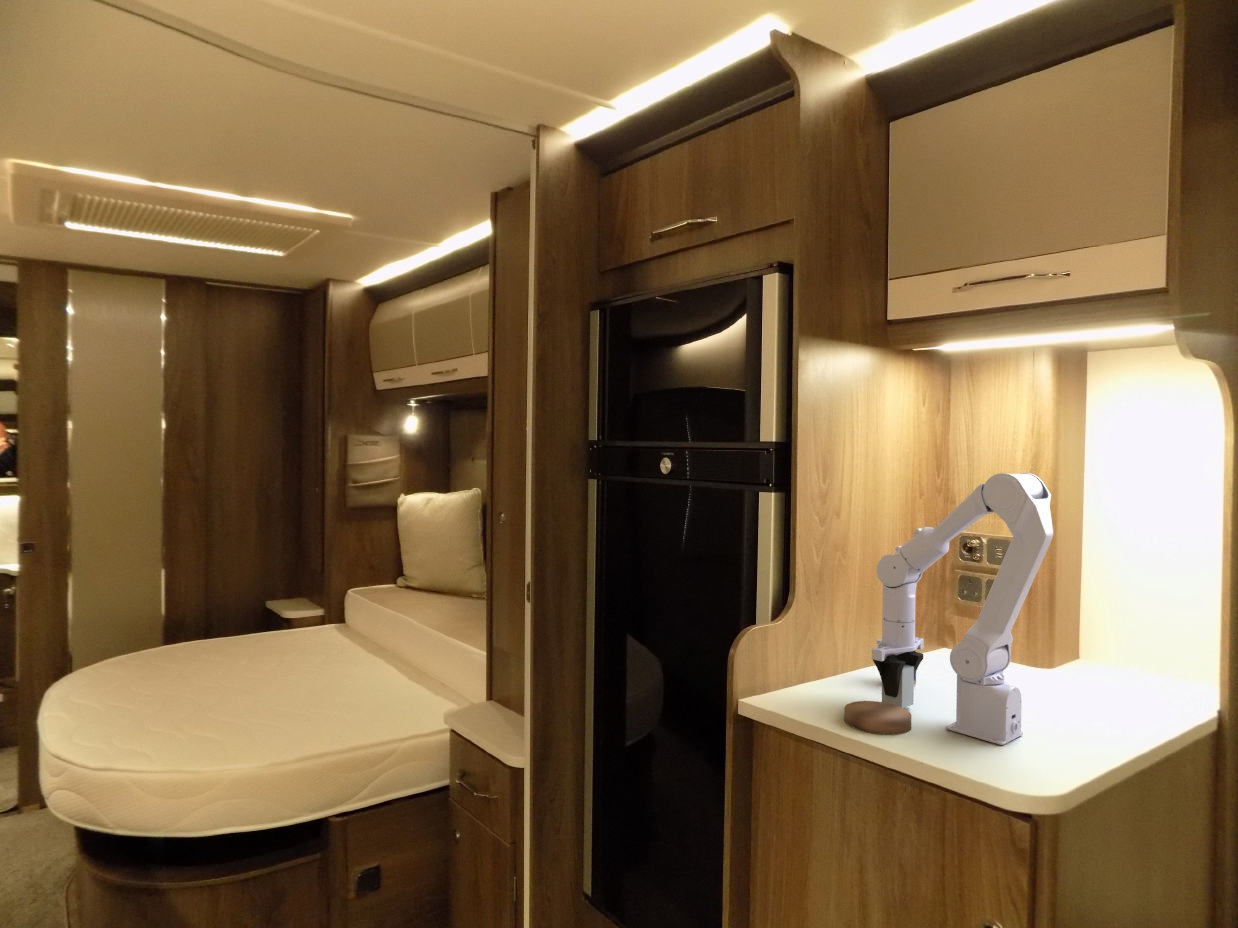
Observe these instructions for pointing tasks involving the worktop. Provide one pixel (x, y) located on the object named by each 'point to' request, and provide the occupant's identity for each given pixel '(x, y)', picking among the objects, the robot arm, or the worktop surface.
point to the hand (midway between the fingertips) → (897, 693)
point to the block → (903, 689)
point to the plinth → (877, 717)
